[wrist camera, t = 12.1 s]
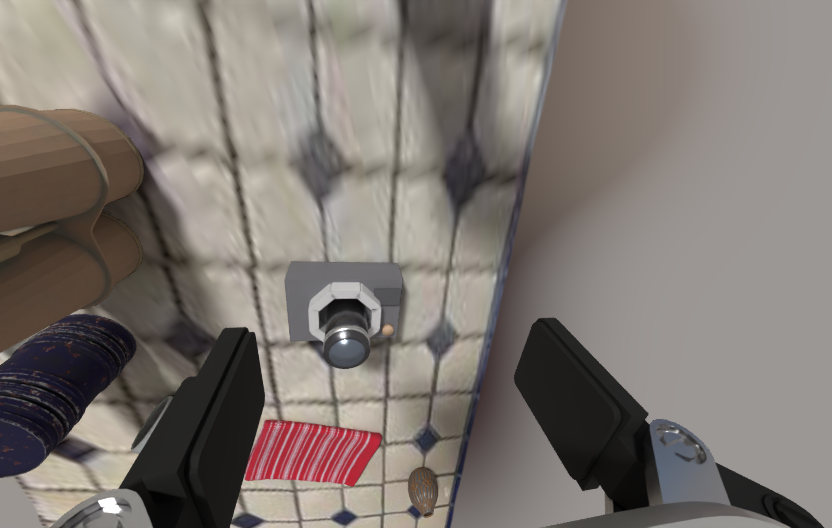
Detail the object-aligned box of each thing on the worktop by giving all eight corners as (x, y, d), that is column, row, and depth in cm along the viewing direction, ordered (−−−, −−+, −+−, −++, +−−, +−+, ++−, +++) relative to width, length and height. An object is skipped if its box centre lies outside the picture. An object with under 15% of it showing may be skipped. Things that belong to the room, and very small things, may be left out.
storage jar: (143, 367, 45) (61, 473, 32) (61, 368, 43) (-65, 484, 30) (128, 314, 41) (26, 411, 28) (35, 311, 38) (-124, 417, 25)
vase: (409, 464, 71) (416, 507, 63) (436, 462, 73) (447, 504, 65) (403, 481, 74) (409, 524, 66) (429, 479, 75) (438, 521, 68)
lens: (326, 294, 40) (322, 335, 32) (367, 294, 41) (373, 334, 34) (325, 327, 42) (322, 372, 35) (364, 326, 43) (369, 369, 36)
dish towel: (353, 476, 70) (353, 489, 67) (243, 469, 61) (238, 483, 59) (384, 429, 64) (385, 441, 62) (266, 414, 55) (263, 427, 53)
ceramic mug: (199, 429, 53) (178, 476, 46) (149, 413, 49) (119, 461, 43) (236, 393, 51) (219, 436, 44) (186, 374, 47) (160, 417, 41)
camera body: (291, 261, 42) (281, 288, 36) (397, 263, 45) (405, 287, 39) (295, 319, 46) (287, 351, 40) (392, 316, 50) (398, 346, 44)
